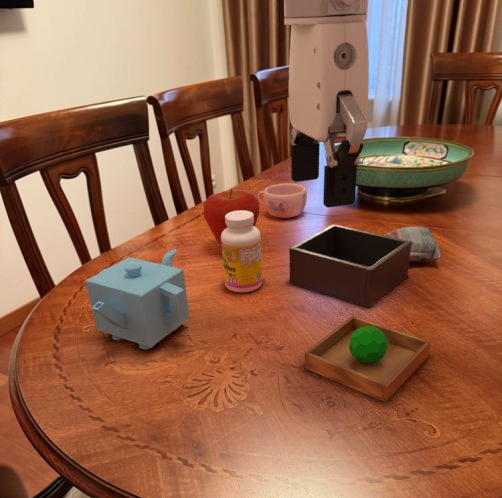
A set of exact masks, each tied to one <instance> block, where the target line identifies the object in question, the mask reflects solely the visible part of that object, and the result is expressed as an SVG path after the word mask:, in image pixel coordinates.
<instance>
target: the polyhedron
mask: <svg viewBox="0 0 502 498" xmlns="http://www.w3.org/2000/svg"><path fill="white" fill-rule="evenodd" d="M387 346H388V341H387V339H386V336H385V334H384V333H383V332H381V331H380V330H379V329H377V328H375V327H373V326H369V327H361V328H358V329H357V330H356V331H354V332H353V333H352V336H351V339H350V343H349V350H350V352H351V355H352V356H353V357H354V358H355V359H357V360H358V361H360V362H361V363H370V362H378V361H379V360H380V359H381V358H383V357H384V355H385V353H386V350H387Z"/></svg>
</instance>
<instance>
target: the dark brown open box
mask: <svg viewBox="0 0 502 498" xmlns="http://www.w3.org/2000/svg"><path fill="white" fill-rule="evenodd" d="M411 244H412V242H410V241H406V240H401V239H397V238H393V237H388V236H384V234H379V233H374V232H370V231H365V230H361V229H356V228H352V227H347V226H342V225H338V224H335V223H333V224H331V225H329V226H327V227H325V228H324V229H322V230H320V231H318V232H316V233H315V234H313V235H311V236H309V237H307V238H305V239H303V240H302V241H300V242H298V243H297V244H295V245H292V246H291V247H289V248H288V249H289V251H288V252H289V254H288V255H289V284H291V285H294V286H298V287H301V288H304V289H307V290H310V291H313V292H317V293H320V294H323V295H327V296H329V297H333V298H335V299H338V300H341V301H345V302H347V303H351V304H354V305H358V306H361V307H364V308H366V309H369V308H371V307H372V306H373V305H374V304H375V303H377V302H378V301H379V300H381V299H382V298H383V297H384V296H386V295H387V294H388V293H390V292H391V291H392V290H393V289H395V288H396V287H397V286H398V285H399V284H401V283H402V282H404V280H405V279H407V278H408V276H409V268H410V261H409V260H410V252H411Z"/></svg>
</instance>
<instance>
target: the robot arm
mask: <svg viewBox="0 0 502 498" xmlns="http://www.w3.org/2000/svg"><path fill="white" fill-rule="evenodd" d="M368 7H369V0H283V11H284V12H283V13H284V15H283V16H284V20H283V21H284V26H291V29H290V42H289V60H288V61H289V62H288V115H289V125H290V126H291V132H290V138H289V139H290V144H291V145H290V157H291V158H290V170H291V171H290V179H291V181H293V182H294V183H298V182H306V181H313V180H315V181H316V180H318V178H319V177H320V150H321V149H320V148H321V147H320V145H321V143H323V146H324V151H325V156H326V159H327V163H328V164H327V165H324V166H323V169H324V170H323V200H322V201H323V202H322V204H323V206H325V207H326V208H328V209H329V208H336V207H342V206H343V207H344V206H350V205H353V204H355V202H356V194H357V193H356V192H357V189H356V188H357V176H358V175H357V173H358V165H359V164H360V162H361V156H360V155H361V153H362V151H363V148H364V143H363V142H364V140H365V139H364V138H365V136H366V133H367V130H368V118H369V117H368V113H369V86H370V85H369V76H370V74H369V73H370V72H369V71H370V70H369V69H370V65H369V41H368V40H369V39H368V29H367V21H368ZM335 144H339V146H338V147H337V148H336V145H335Z"/></svg>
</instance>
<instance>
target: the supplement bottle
mask: <svg viewBox="0 0 502 498" xmlns="http://www.w3.org/2000/svg"><path fill="white" fill-rule="evenodd" d="M253 222H254V215H253V213H252V212H250V211H244V210H240V211H233V212H230V213H228V214H226V215H225V223H226V225H227V228H226V229H225V230H224V231H223V232H222V234H221V243H222V245H221V251H222V252H221V254H222V264H223V265H222V266H223V278H224V279H223V280H224V285H225V287H226V288H227V289H228V290H230V291H231V292H234V293H249V292H253V291H255V290H257V289H259V288H260V287H261V286H262V284H263V264H262V263H263V262H262V240H261V239H262V238H261V232H260V230H259V228H257V227H256V226H255V227H254V226H253Z"/></svg>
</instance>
